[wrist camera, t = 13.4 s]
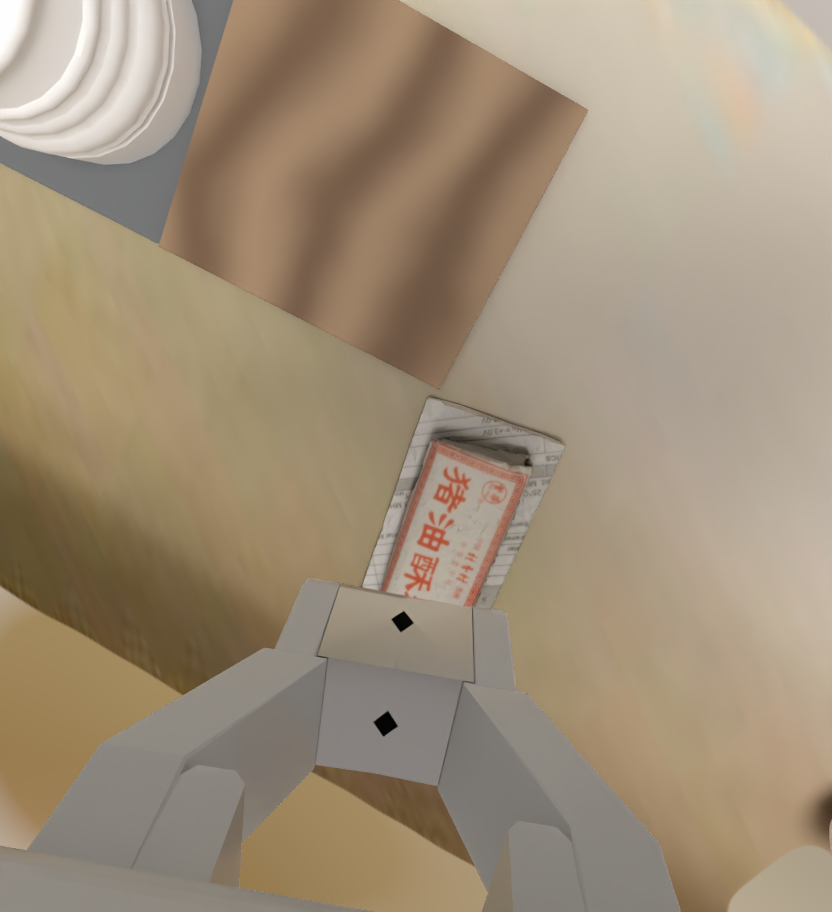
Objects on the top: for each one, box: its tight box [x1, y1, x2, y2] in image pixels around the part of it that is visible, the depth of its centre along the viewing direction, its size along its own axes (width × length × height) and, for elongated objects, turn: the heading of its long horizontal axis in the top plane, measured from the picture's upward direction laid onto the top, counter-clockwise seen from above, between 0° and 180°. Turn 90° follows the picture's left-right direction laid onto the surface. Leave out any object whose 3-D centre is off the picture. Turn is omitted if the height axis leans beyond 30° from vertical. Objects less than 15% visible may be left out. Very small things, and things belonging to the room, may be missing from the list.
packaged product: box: [362, 397, 565, 609], centre depth 41 cm, size 18×5×10 cm
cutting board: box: [159, 0, 588, 389], centre depth 35 cm, size 20×18×1 cm
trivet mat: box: [0, 0, 233, 244], centre depth 33 cm, size 16×18×1 cm
